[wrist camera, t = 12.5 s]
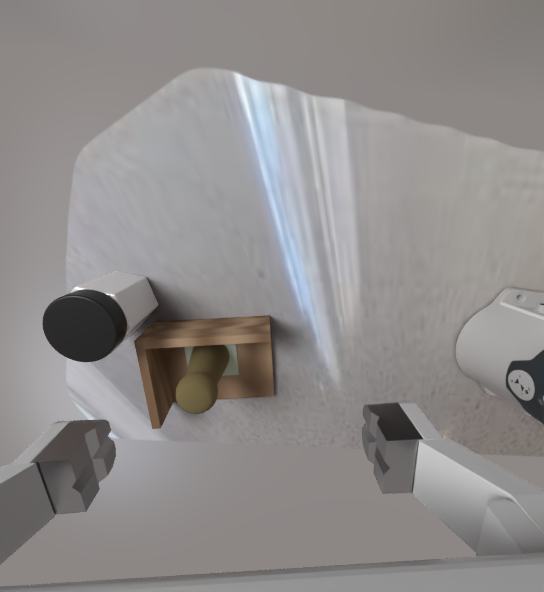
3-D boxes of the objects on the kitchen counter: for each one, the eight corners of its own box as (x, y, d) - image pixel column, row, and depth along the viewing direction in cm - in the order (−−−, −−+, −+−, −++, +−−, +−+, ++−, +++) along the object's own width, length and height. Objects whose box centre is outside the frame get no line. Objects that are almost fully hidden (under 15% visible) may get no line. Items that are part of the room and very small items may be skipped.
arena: (269, 315, 44) (270, 333, 38) (274, 393, 48) (275, 421, 42) (153, 322, 44) (134, 341, 38) (167, 399, 48) (152, 428, 42)
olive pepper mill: (187, 368, 46) (164, 416, 35) (195, 335, 44) (173, 374, 33) (224, 377, 46) (213, 426, 36) (233, 344, 45) (223, 385, 34)
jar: (89, 279, 42) (24, 304, 31) (141, 262, 42) (93, 281, 30) (117, 332, 45) (66, 374, 33) (165, 317, 44) (130, 354, 33)
